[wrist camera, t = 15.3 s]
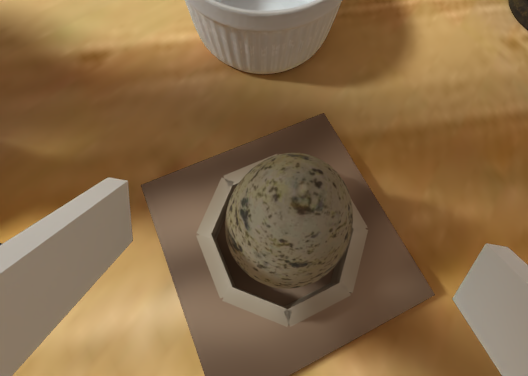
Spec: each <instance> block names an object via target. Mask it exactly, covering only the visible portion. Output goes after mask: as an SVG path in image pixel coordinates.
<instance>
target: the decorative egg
mask: <svg viewBox="0 0 528 376" xmlns="http://www.w3.org/2000/svg"><path fill="white" fill-rule="evenodd" d="M352 224H353V208H352V201H351V197H350V194H349V191H348V189H347V187H346V185H345V183H344V181H343V180H342V178H341V177H340V175H339V174H338V173H337V172H336V171H335V170H334V169H333V168H332V167H331V166H330V165H329V164H327V163H326V162H324V161H322V160H321V159H319V158H317V157H314V156H311V155H308V154H303V153H285V154H280V155H276V156H273V157H270V158H268V159H266V160H264V161H262V162H261V163H259V164H258V165H256V166H255V167H254V168H252V169H251V170H250V171H249V172H248V173H247V174H246V175H245V176H244V177H243V178H242V180H241V181H240V182H239V183H238V185H237V186H236V188H235V190H234V192H233V193H232V195H231V198H230V200H229V203H228V206H227V210H226V216H225V234H226V239H227V243H228V246H229V249H230V251H231V254H232V256H233V257H234V259H235V261H236V262H237V264H238V265H239V266H240V267H241V268H242V270H243V271H244V272H246V273H247V274H248V275H249V276H250V277H252V278H253V279H255V280H256V281H258V282H260V283H262V284H265V285H268V286H271V287H275V288H283V289H291V288H299V287H303V286H306V285H309V284H312V283H314V282H316V281H318V280H319V279H321V278H322V277H324V276H325V275H326V274H328V273H329V272H330V271H331V270H332V269H333V268H334V267H335V266H336V264H337V263H338V262H339V260H340V259H341V257H342V256H343V254H344V252H345V250H346V248H347V245H348V243H349V240H350V236H351V232H352Z"/></svg>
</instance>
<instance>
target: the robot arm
mask: <svg viewBox="0 0 528 376" xmlns="http://www.w3.org/2000/svg"><path fill="white" fill-rule="evenodd" d="M132 241H133V237H132V225H131V213H130V201H129V189H128V181H127V180H121V179H115V178H109V177H107V178H106V179H104V180H103V181H101V182H100V183H98V184H96V185H95V186H93V187H92V188H90V189H89V190H87V191H85V192H84V193H82V194H81V195H79V196H77V197H76V198H74V199H73V200H71V201H70V202H68V203H66V204H65V205H63V206H62V207H60V208H59V209H57V210H55V211H54V212H52V213H51V214H49V215H47V216H46V217H44V218H43V219H41V220H40V221H38V222H36V223H35V224H33V225H32V226H30V227H28V228H27V229H25V230H24V231H22V232H21V233H19V234H17V235H16V236H14V237H13V238H11V239H10V240H8V241H6V242H5V243H3V244H2V243H0V376H12V375H13V374H14V373H15V372H16V371H17V369H18V368H19V367H20V366H21V365H22V364H23V363H24V362H25V361H26V359H27V358H28V357H29V356H30V355H31V354H32V353H33V352H34V351H35V349H36V348H37V347H38V346H39V345H40V344H41V343H42V342H43V340H44V339H45V338H46V337H47V336H48V335H49V334H50V333H51V332H52V330H53V329H54V328H55V327H56V326H57V325H58V324H59V323H60V321H61V320H62V319H63V318H64V317H65V316H66V315H67V314H68V313H69V311H70V310H71V309H72V308H73V307H74V306H75V305H76V304H77V302H78V301H79V300H80V299H81V298H82V297H83V296H84V295H85V294H86V292H87V291H88V290H89V289H90V288H91V287H92V286H93V285H94V283H95V282H96V281H97V280H98V279H99V278H100V277H101V276H102V275H103V273H104V272H105V271H106V270H107V269H108V268H109V267H110V266H111V264H112V263H113V262H114V261H115V260H116V259H117V258H118V257H119V256H120V254H121V253H122V252H123V251H124V250H125V249H126V248H127V247H128V245H129V244H130V243H131V242H132ZM452 299H453V301H454V302H455V304H456V306H457V307H458V309H459V310H460V312H461V313H462V315H463V316H464V318H465V319H466V321H467V323H468V324H469V326H470V327H471V329H472V330H473V332H474V333H475V335H476V336H477V338H478V340H479V341H480V343H481V344H482V346H483V347H484V349H485V350H486V352H487V353H488V355H489V357H490V358H491V360H492V361H493V363H494V364H495V366H496V367H497V369H498V370H499V372H500V374H501V375H502V376H528V265H527V264H526V263H525V262H524V261H523V260H522V259H521V258H519V257H518V256H517V255H516V254H515V253H514V252H513V251H512V250H510V249H509V248H508V247H505V246H499V245H493V244H487V243H486V244H485V245H484V247H483V249H482V250H481V252H480V254H479V255H478V257H477V259H476V260H475V262H474V264H473V265H472V267H471V269H470V270H469V272H468V274H467V275H466V277H465V279H464V280H463V282H462V284H461V285H460V287H459V289H458V290H457V292H456V294H455V295H454V297H453V298H452Z"/></svg>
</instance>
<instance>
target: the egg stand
mask: <svg viewBox="0 0 528 376" xmlns="http://www.w3.org/2000/svg"><path fill="white" fill-rule="evenodd" d="M285 153H303V154H308V155H311V156H314V157H317V158H319V159H321V160H322V161H324V162H326V163H327V164H329V165H330V166H331V167H332V168H333V169H334V170H335V171H336V172H337V173H338V174H339V175H340V177H341V178H342V180H343V181H344V183H345V185H346V187H347V189H348V191H349V194H350V197H351V201H352V208H353V224H352V232H351V236H350V240H349V243H348V245H347V248H346V250H345V252H344V254H343V256H342V257H341V259H340V260H339V262H338V263H337V264H336V266H335V267H334V268H333V269H332V270H331V271H330V272H329V273H328V274H326V275H325V276H324V277H322V278H321V279H319V280H318V281H316V282H314V283H312V284H309V285H306V286H303V287H299V288H291V289H283V288H275V287H271V286H268V285H265V284H262V283H260V282H258V281H256V280H255V279H253V278H252V277H250V276H249V275H248V274H247V273H246V272H244V271H243V270H242V268H241V267H240V266H239V265H238V264H237V262H236V261H235V259H234V257H233V256H232V254H231V251H230V249H229V246H228V243H227V239H226V234H225V216H226V210H227V206H228V203H229V200H230V198H231V195H232V193H233V192H234V190H235V188H236V186H237V185H238V183H239V182H240V181H241V180H242V178H243V177H244V176H245V175H246V174H247V173H248V172H249V171H250V170H251V169H252V168H254V167H255V166H256V165H258V164H259V163H261V162H262V161H264V160H266V159H268V158H270V157H273V156H276V155H280V154H285ZM141 187H142V190H143V193H144V196H145V199H146V202H147V205H148V208H149V211H150V214H151V217H152V220H153V223H154V226H155V229H156V232H157V235H158V238H159V241H160V244H161V246H162V249H163V252H164V255H165V258H166V261H167V264H168V267H169V270H170V273H171V276H172V279H173V282H174V285H175V288H176V291H177V294H178V297H179V300H180V303H181V306H182V309H183V312H184V315H185V318H186V321H187V324H188V327H189V330H190V332H191V335H192V338H193V341H194V344H195V347H196V350H197V353H198V356H199V359H200V362H201V365H202V368H203V371H204V374H205V376H289V375H291V374H293V373H295V372H296V371H298V370H300V369H302V368H304V367H305V366H307V365H309V364H311V363H313V362H314V361H316V360H318V359H320V358H322V357H323V356H325V355H327V354H329V353H331V352H333V351H334V350H336V349H338V348H340V347H342V346H343V345H345V344H347V343H349V342H351V341H352V340H354V339H356V338H358V337H360V336H362V335H363V334H365V333H367V332H369V331H371V330H372V329H374V328H376V327H378V326H380V325H381V324H383V323H385V322H387V321H389V320H391V319H392V318H394V317H396V316H398V315H400V314H401V313H403V312H405V311H407V310H409V309H410V308H412V307H414V306H416V305H418V304H419V303H421V302H423V301H425V300H427V299H429V298H430V297H432V296H434V295H435V294H434V292H433V291H432V289H431V288H430V286H429V284H428V283H427V281H426V279H425V278H424V276H423V274H422V273H421V271H420V270H419V268H418V266H417V265H416V263H415V261H414V260H413V258H412V256H411V255H410V253H409V252H408V250H407V248H406V247H405V245H404V243H403V242H402V240H401V238H400V237H399V235H398V234H397V232H396V230H395V229H394V227H393V225H392V224H391V222H390V221H389V219H388V217H387V216H386V214H385V212H384V211H383V209H382V207H381V206H380V204H379V203H378V201H377V199H376V198H375V196H374V194H373V193H372V191H371V189H370V188H369V186H368V185H367V183H366V181H365V180H364V178H363V176H362V175H361V173H360V171H359V170H358V168H357V167H356V165H355V163H354V162H353V160H352V158H351V157H350V155H349V153H348V152H347V150H346V149H345V147H344V145H343V144H342V142H341V140H340V139H339V137H338V136H337V134H336V132H335V131H334V129H333V127H332V126H331V124H330V122H329V121H328V119H327V118H326V116H325V114H324V113H322V114H320V115H317V116H315V117H312V118H310V119H307V120H305V121H302V122H300V123H297V124H295V125H292V126H290V127H287V128H284V129H282V130H279V131H277V132H274V133H272V134H269V135H267V136H264V137H262V138H259V139H257V140H254V141H252V142H249V143H246V144H244V145H241V146H239V147H236V148H234V149H231V150H229V151H226V152H224V153H221V154H219V155H216V156H214V157H211V158H208V159H206V160H203V161H201V162H198V163H196V164H193V165H191V166H188V167H186V168H183V169H181V170H178V171H176V172H173V173H170V174H168V175H165V176H163V177H160V178H158V179H155V180H153V181H150V182H148V183H145V184H143V185H141Z"/></svg>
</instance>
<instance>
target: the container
mask: <svg viewBox="0 0 528 376" xmlns="http://www.w3.org/2000/svg"><path fill="white" fill-rule="evenodd" d="M509 6H510V8H511V11H512V13H513V14H514V16H515V17H516V19H517V20H518V21H519V22H520V23H521V24H522V25H523V26H524V27H525V28H527V29H528V0H509Z"/></svg>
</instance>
